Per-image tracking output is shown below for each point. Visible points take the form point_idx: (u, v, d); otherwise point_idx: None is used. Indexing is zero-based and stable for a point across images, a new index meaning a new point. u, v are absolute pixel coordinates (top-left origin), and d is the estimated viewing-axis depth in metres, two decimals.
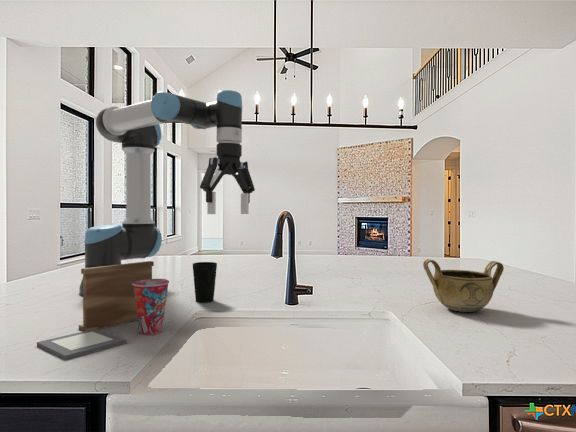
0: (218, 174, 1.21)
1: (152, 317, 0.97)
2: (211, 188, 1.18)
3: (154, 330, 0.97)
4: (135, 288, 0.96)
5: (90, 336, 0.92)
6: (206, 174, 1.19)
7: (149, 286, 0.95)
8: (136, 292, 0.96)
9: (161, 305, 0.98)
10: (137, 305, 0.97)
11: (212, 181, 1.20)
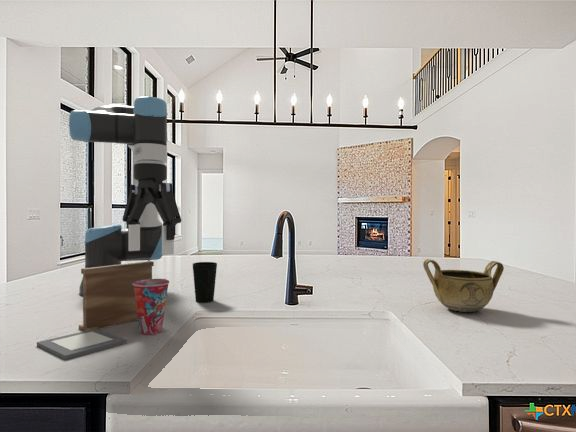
0: None
1: (152, 317, 0.97)
2: (127, 220, 1.03)
3: (154, 330, 0.97)
4: (135, 288, 0.96)
5: (90, 336, 0.92)
6: None
7: (149, 286, 0.95)
8: (136, 292, 0.96)
9: (161, 305, 0.98)
10: (137, 305, 0.97)
11: None
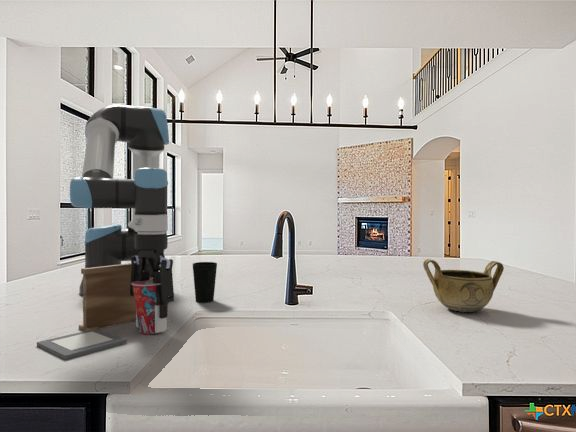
0: None
1: (152, 316, 0.97)
2: None
3: (154, 329, 0.97)
4: (134, 288, 0.96)
5: (90, 336, 0.92)
6: None
7: (148, 285, 0.95)
8: (135, 292, 0.96)
9: None
10: (136, 305, 0.97)
11: None
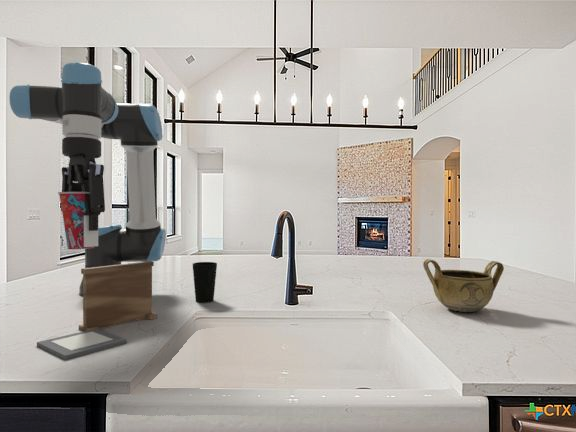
0: None
1: (80, 229, 0.86)
2: None
3: (83, 244, 0.87)
4: (60, 197, 0.86)
5: (90, 336, 0.92)
6: None
7: (75, 193, 0.85)
8: (62, 201, 0.86)
9: None
10: (63, 216, 0.87)
11: None
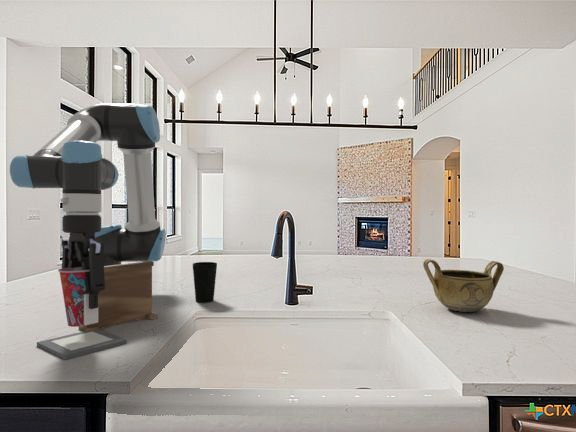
0: None
1: (81, 307, 0.87)
2: None
3: (83, 321, 0.87)
4: (61, 275, 0.86)
5: (90, 336, 0.92)
6: None
7: (75, 272, 0.85)
8: (62, 279, 0.86)
9: None
10: (64, 294, 0.87)
11: None
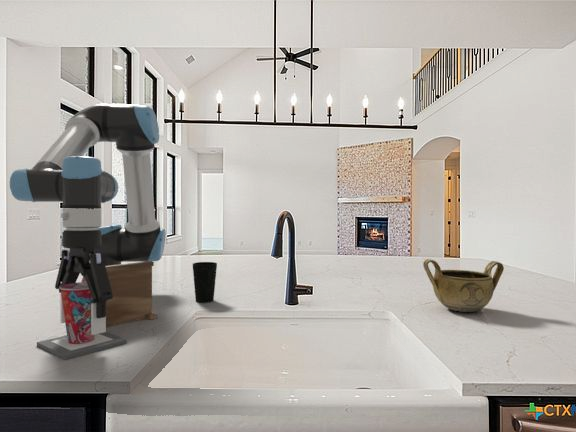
0: None
1: (81, 324, 0.87)
2: (59, 289, 0.93)
3: (83, 339, 0.87)
4: (61, 292, 0.87)
5: None
6: None
7: (76, 290, 0.86)
8: (62, 296, 0.86)
9: None
10: (64, 311, 0.87)
11: None
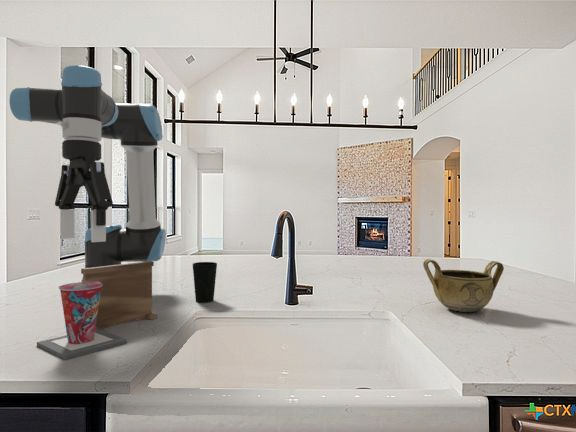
0: None
1: (81, 325, 0.87)
2: (59, 205, 0.93)
3: (83, 339, 0.87)
4: (61, 292, 0.86)
5: None
6: None
7: (76, 290, 0.85)
8: (62, 297, 0.86)
9: (92, 311, 0.88)
10: (64, 311, 0.87)
11: None
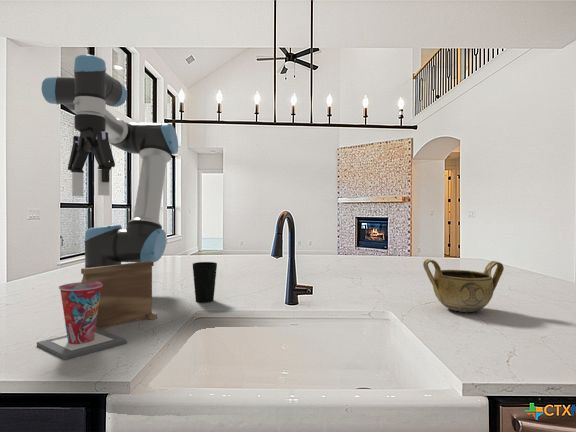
0: None
1: (81, 325, 0.87)
2: (71, 169, 1.15)
3: (83, 339, 0.87)
4: (61, 292, 0.86)
5: None
6: None
7: (76, 290, 0.85)
8: (62, 297, 0.86)
9: (92, 311, 0.88)
10: (64, 311, 0.87)
11: None
